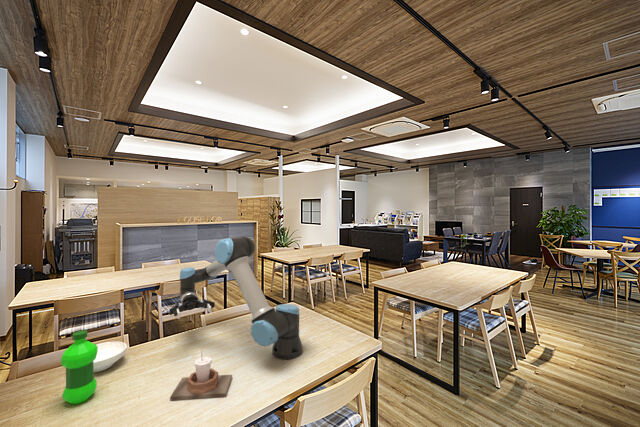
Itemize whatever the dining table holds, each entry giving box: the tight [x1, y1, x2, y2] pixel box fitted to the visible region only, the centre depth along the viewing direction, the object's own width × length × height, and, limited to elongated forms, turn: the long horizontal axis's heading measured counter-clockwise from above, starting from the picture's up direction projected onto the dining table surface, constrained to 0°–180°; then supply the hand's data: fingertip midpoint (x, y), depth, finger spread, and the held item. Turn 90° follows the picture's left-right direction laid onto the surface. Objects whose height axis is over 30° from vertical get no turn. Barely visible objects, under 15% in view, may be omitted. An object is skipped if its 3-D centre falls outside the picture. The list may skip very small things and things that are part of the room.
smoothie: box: [194, 349, 213, 383], centre depth 111 cm, size 6×6×14 cm
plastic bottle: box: [60, 329, 98, 405], centre depth 104 cm, size 10×10×25 cm
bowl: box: [93, 341, 128, 373], centre depth 126 cm, size 20×20×7 cm
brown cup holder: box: [169, 368, 233, 402], centre depth 111 cm, size 20×12×5 cm, turn 97°
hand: (195, 313), depth 130 cm, fingers open, 13 cm apart
